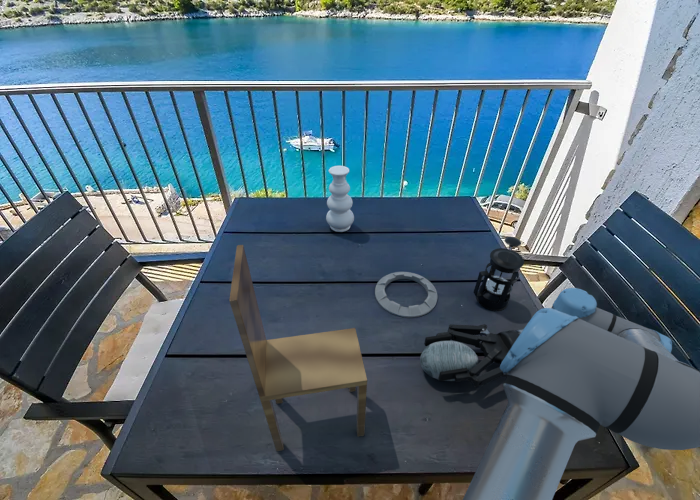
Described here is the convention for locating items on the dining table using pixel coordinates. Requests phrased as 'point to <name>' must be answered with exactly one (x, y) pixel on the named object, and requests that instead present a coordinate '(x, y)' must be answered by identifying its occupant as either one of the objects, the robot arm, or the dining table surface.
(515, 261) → the french press
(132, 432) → the dining table surface
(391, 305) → the ring
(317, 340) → the wooden chair
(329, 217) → the vase
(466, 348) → the grey streaked ellipsoid
